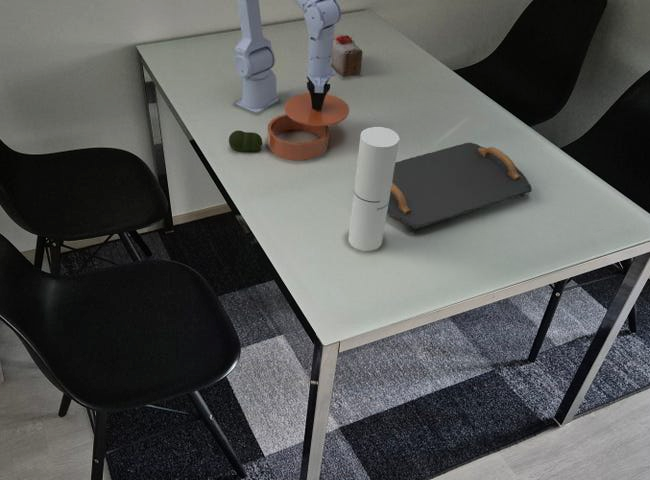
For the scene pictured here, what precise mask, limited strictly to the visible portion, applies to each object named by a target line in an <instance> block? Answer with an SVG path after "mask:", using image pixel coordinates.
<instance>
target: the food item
mask: <svg viewBox="0 0 650 480" xmlns="http://www.w3.org/2000/svg"><path fill="white" fill-rule="evenodd" d="M353 37H354V35H352V36H349V35H348V34H347V35H344V34H340V33H334V40H333V53H332V66H331V67H333V68H334V70H335V71H336V72H338V73H339V74H340V75H341V76H342V77H343V78H348V77H349V78H350V77H353V76H360V75H361V72H362V63H363V50H362V49H361V48H360V47H359V46H358V45H357V44H356V43H355V40H353Z"/></svg>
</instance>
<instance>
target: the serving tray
mask: <svg viewBox="0 0 650 480" xmlns="http://www.w3.org/2000/svg"><path fill="white" fill-rule="evenodd" d="M532 191H533V188H532V185H531V183H530V182H529V181H528V179H527V177H526V176H525V175H524V174H523V172H522V171H521V170H520V169H519V168H518V166H516V165H515V163H514V161H513V160H512V159H511V158H510V157H509V156H508V155H507V154H505V153H504V152H503V151H502V150H500V149H499V148H496V147H493V146H490V147H487V148H486V147H484V146H481V145H479V144H477V143H473V142H465V143H462V144H456V145H454V146H449V147H446V148H443V149H438V150H436V151H431V152H428V153H427V152H426V153H423V154H422V155H421V154H420V155H417V156H414V157H409V158H406V159H403V160H400V161H395V167H394V174H393V180H392V186H391V192H390V198H389V204H388V210H387V215H389V216H390V217H392V218H394V219H396V220H397V221H399V222H401V223H403V224H405V225H406V227H407V230H408V232H409V233H414V232H415V231H417V230H418V229H420V228H424V227H428V226H430V225H433V224H436V223H439V222H442V221H446V220H450V219H454V218H456V217H458V216H460V215H463V214H467V213H472V212H475V211H479V210H481V209H483V208H487V207H489V206H492V205H493V206H494V205H496V204H501V203H502V202H504V201H507V200H511V199H514V198H518V197H520V198H524V196H526V195H527V194H529V193H532Z"/></svg>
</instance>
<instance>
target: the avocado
mask: <svg viewBox="0 0 650 480" xmlns="http://www.w3.org/2000/svg"><path fill="white" fill-rule="evenodd" d="M228 145H229V147H230V148H231V149H232V150H234V151H236V152H257V151H259V150H260V149H261V148H262V145H263V139H262V136H261V135H260V134H259V133H256V132H251V131H250V132H247V131H243V130H234V131H232V133H231V134H230V135H229V137H228Z"/></svg>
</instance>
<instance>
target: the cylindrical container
mask: <svg viewBox="0 0 650 480" xmlns="http://www.w3.org/2000/svg"><path fill="white" fill-rule="evenodd" d="M399 142H400V136H399V134H398V133H397V132H396V131H395V130H393V129H391V128H388V127H382V126H372V127H367V128H365V129H363V130H362V131H361V132H360V138H359V145H358V146H359V147H358V154H357V163H356V172H355V180H354V187H353V196H352V205H351V213H350V221H349V231H348V243H349V244H350V246H351V247H353V248H355V249H356V250H358V251H361V252H362V251H363V252H373V251H376V250H378V249H379V248H380V247H381V246H382V244H383V239H384V234H385V228H386V221H387V215H388V213H387V210H388V204H389V198H390V192H391V186H392V180H393V174H394V167H395V162H397V154H398V148H399Z"/></svg>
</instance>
